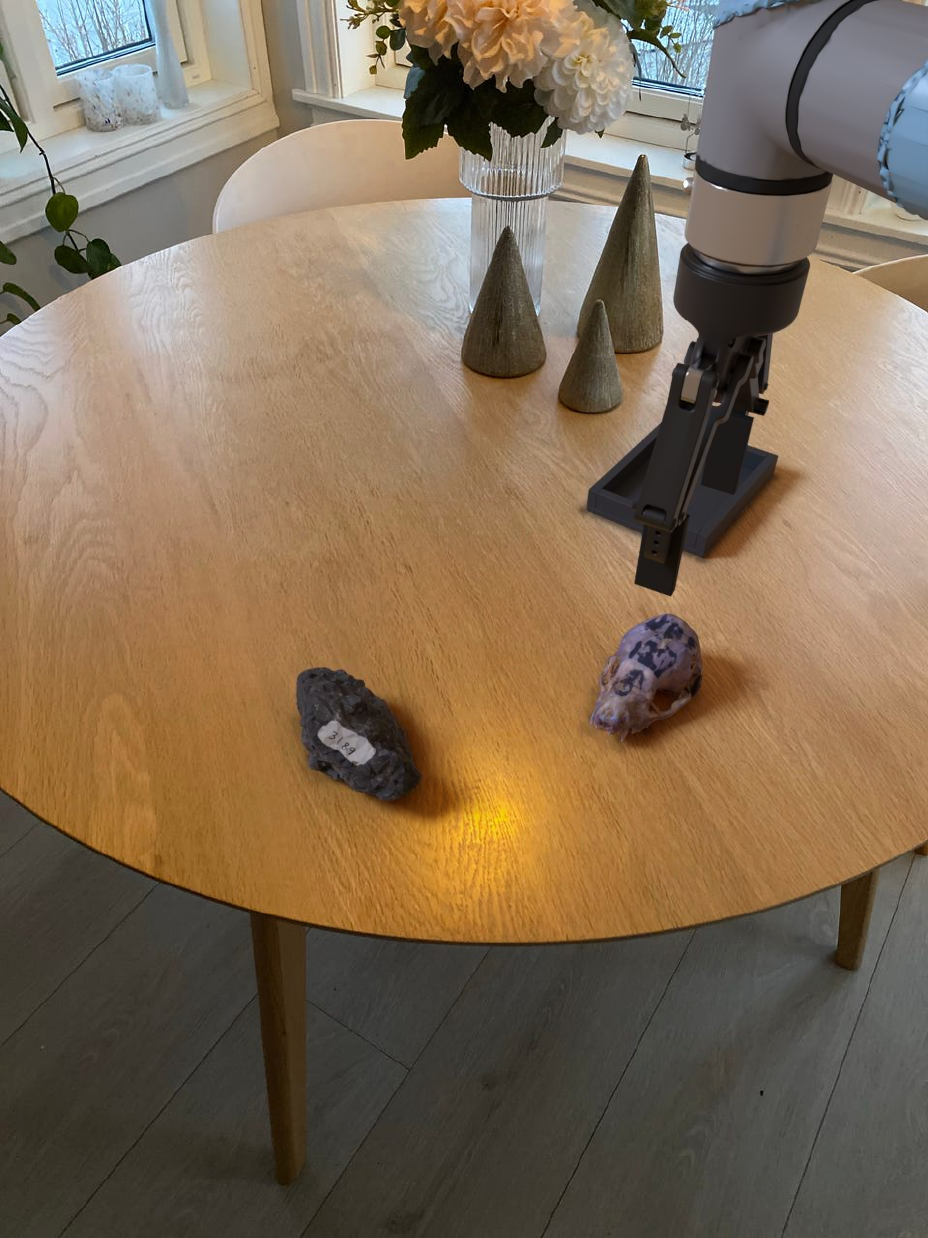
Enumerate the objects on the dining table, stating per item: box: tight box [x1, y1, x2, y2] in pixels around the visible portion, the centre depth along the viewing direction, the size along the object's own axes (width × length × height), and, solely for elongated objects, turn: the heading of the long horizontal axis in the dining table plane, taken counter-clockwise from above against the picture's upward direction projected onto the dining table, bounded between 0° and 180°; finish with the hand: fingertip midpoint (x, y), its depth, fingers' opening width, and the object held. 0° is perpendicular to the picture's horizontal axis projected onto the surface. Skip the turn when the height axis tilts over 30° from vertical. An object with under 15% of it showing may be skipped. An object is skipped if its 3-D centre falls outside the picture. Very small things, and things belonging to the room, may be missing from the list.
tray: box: [586, 422, 779, 559], centre depth 99 cm, size 13×17×3 cm
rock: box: [295, 666, 424, 801], centre depth 73 cm, size 12×8×10 cm
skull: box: [589, 612, 704, 743], centre depth 77 cm, size 12×8×6 cm, turn 134°
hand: (688, 534), depth 71 cm, fingers open, 13 cm apart
